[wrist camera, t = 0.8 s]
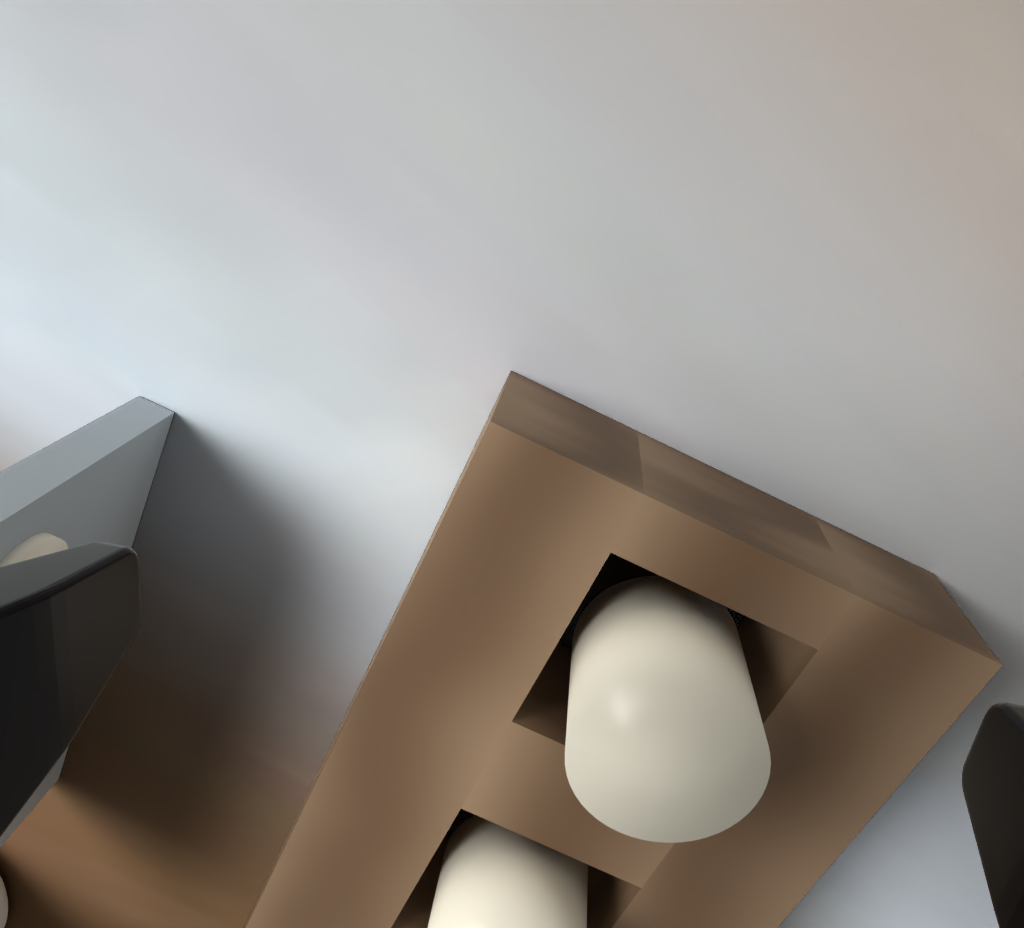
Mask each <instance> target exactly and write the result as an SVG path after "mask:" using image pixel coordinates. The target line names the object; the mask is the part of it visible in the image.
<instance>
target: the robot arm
mask: <svg viewBox="0 0 1024 928" xmlns="http://www.w3.org/2000/svg"><path fill="white" fill-rule="evenodd" d="M140 621H141V592H140V568H139V559H138V556H137V553H136V552H135V551H134V550H133V549H132V548H130V547H127V546H122V545H116V544H110V543H105V542H92V543H88V544H84V545H80V546H77V547H73V548H69V549H65V550H62V551H58V552H54V553H50V554H47V555H43V556H39V557H36V558H32V559H28V560H24V561H21V562H17V563H13V564H9V565H6V566H2V567H0V837H1V836H2V835H3V833H4V832H5V831H6V829H7V828H8V827H9V825H10V824H11V823H12V821H13V820H14V819H15V817H16V816H17V815H18V813H19V812H20V811H21V810H22V808H23V807H24V806H25V804H26V803H27V802H28V800H29V799H30V798H31V796H32V795H33V794H34V792H35V791H36V790H37V789H38V787H39V786H40V785H41V783H42V782H43V781H44V779H45V778H46V777H47V775H48V774H49V773H50V771H51V770H52V769H53V767H54V766H55V764H56V763H57V762H58V760H59V759H60V758H61V756H62V755H63V753H64V752H65V750H66V749H67V747H68V746H69V744H70V743H71V741H72V740H73V738H74V737H75V735H76V734H77V732H78V730H79V729H80V727H81V725H82V724H83V722H84V720H85V719H86V717H87V715H88V714H89V712H90V710H91V709H92V707H93V706H94V704H95V702H96V701H97V699H98V697H99V696H100V694H101V692H102V691H103V689H104V687H105V686H106V684H107V682H108V681H109V679H110V678H111V676H112V674H113V673H114V671H115V669H116V668H117V666H118V664H119V663H120V661H121V659H122V658H123V656H124V654H125V653H126V651H127V649H128V648H129V646H130V645H131V643H132V641H133V640H134V638H135V636H136V634H137V631H138V629H139V625H140ZM962 786H963V792H964V796H965V800H966V804H967V808H968V811H969V815H970V819H971V823H972V827H973V831H974V834H975V838H976V842H977V846H978V850H979V853H980V857H981V861H982V865H983V869H984V873H985V876H986V880H987V884H988V888H989V892H990V895H991V899H992V903H993V907H994V911H995V914H996V917H997V921H998V924H999V927H1000V928H1024V706H1020V705H1014V704H1008V703H998V704H995V705H993V706H992V707H991V708H990V709H989V710H988V711H987V713H986V715H985V717H984V719H983V721H982V724H981V726H980V728H979V731H978V733H977V735H976V738H975V740H974V742H973V745H972V747H971V750H970V752H969V754H968V757H967V759H966V761H965V764H964V767H963V773H962Z"/></svg>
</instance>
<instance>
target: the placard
mask: <svg viewBox="0 0 1024 928" xmlns="http://www.w3.org/2000/svg"><path fill="white" fill-rule="evenodd" d="M173 415H174V412H172V411H170V410H168V409H166V408H164V407H162V406H159V405H157V404H155V403H153V402H151V401H149V400H147V399H144V398H142V397H140V396H138V397H136V398H134V399H133V400H131V401H129V402H127V403H125V404H123V405H122V406H120V407H118V408H116V409H114V410H112V411H111V412H109V413H107V414H105V415H103V416H102V417H100V418H98V419H96V420H94V421H92V422H91V423H89V424H87V425H85V426H83V427H81V428H80V429H78V430H76V431H74V432H72V433H71V434H69V435H67V436H65V437H63V438H61V439H60V440H58V441H56V442H54V443H52V444H50V445H49V446H47V447H45V448H43V449H41V450H40V451H38V452H36V453H34V454H32V455H30V456H29V457H27V458H25V459H23V460H21V461H19V462H18V463H16V464H14V465H12V466H10V467H9V468H7V469H5V470H3V471H1V472H0V567H2V566H6V565H9V564H13V563H17V562H21V561H24V560H28V559H32V558H36V557H39V556H43V555H47V554H50V553H54V552H58V551H62V550H65V549H69V548H73V547H77V546H80V545H84V544H88V543H92V542H105V543H110V544H116V545H122V546H127V547H130V548H132V545H133V542H134V538H135V535H136V532H137V529H138V526H139V523H140V519H141V516H142V513H143V510H144V507H145V504H146V500H147V497H148V494H149V491H150V488H151V485H152V481H153V478H154V475H155V472H156V469H157V466H158V462H159V459H160V456H161V453H162V450H163V447H164V443H165V440H166V437H167V434H168V431H169V428H170V424H171V421H172V418H173ZM68 747H69V746H68ZM68 747H67V749H66V750H65V752H64V753H63V755H62V756H61V758H60V759H59V760H58V762H57V763H56V764H55V766H54V767H53V769H52V770H51V771H50V773H49V774H48V775H47V777H46V778H45V779H44V781H43V782H42V783H41V785H40V786H39V787H38V789H37V790H36V791H35V792H34V794H33V795H32V796H31V798H30V799H29V800H28V802H27V803H26V804H25V806H24V807H23V808H22V810H21V811H20V812H19V813H18V815H17V816H16V817H15V819H14V820H13V821H12V823H11V824H10V825H9V827H8V828H7V829H6V831H5V832H4V833H3V835H2V836H1V837H0V847H1V846H2V845H3V844H4V842H5V841H6V840H7V839H8V838H9V836H10V835H11V834H12V833H13V832H14V831H15V829H16V828H17V827H18V826H19V825H20V824H21V822H22V821H23V820H24V819H25V818H26V817H27V815H28V814H29V813H30V812H31V811H32V810H33V808H34V807H35V806H36V805H37V804H38V803H39V801H40V800H41V799H42V798H43V797H44V796H45V794H46V793H47V792H48V791H49V790H50V789H51V787H52V786H53V785H54V784H55V783H56V782H57V780H58V779H59V776H60V772H61V769H62V766H63V763H64V760H65V757H66V753H67V750H68Z"/></svg>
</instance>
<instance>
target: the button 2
mask: <svg viewBox="0 0 1024 928" xmlns="http://www.w3.org/2000/svg"><path fill="white" fill-rule="evenodd" d="M770 768H771V758H770V750H769V746H768V742H767V738H766V734H765V731H764V727H763V723H762V719H761V716H760V712H759V708H758V705H757V701H756V697H755V693H754V690H753V686H752V682H751V679H750V675H749V671H748V667H747V664H746V660H745V656H744V652H743V649H742V645H741V641H740V638H739V634H738V630H737V627H736V625H735V622H734V620H733V618H732V617H731V615H730V613H729V612H728V610H727V609H726V608H725V607H724V606H723V605H721V604H719V603H717V602H715V601H713V600H711V599H709V598H706V597H704V596H702V595H700V594H698V593H696V592H694V591H692V590H689V589H687V588H685V587H683V586H681V585H679V584H677V583H675V582H672V581H670V580H668V579H666V578H664V577H662V576H648V577H639V578H634V579H630V580H627V581H624V582H621V583H618V584H616V585H614V586H612V587H610V588H608V589H607V590H605V591H603V592H602V593H600V594H599V595H598V596H597V597H596V598H594V599H593V600H592V601H591V602H590V603H589V605H588V606H587V607H586V608H585V610H584V611H583V612H582V614H581V615H580V618H579V620H578V622H577V624H576V627H575V630H574V633H573V640H572V652H571V667H570V682H569V697H568V712H567V727H566V742H565V769H566V775H567V778H568V781H569V784H570V786H571V788H572V790H573V792H574V794H575V796H576V797H577V799H578V800H579V802H580V803H581V804H582V805H583V806H584V808H585V809H586V810H587V811H588V812H589V813H590V814H591V815H593V816H594V817H595V818H596V819H597V820H599V821H600V822H602V823H603V824H605V825H606V826H608V827H610V828H612V829H614V830H616V831H618V832H620V833H622V834H625V835H628V836H630V837H634V838H637V839H641V840H646V841H652V842H663V843H678V842H688V841H695V840H699V839H703V838H707V837H709V836H712V835H715V834H718V833H720V832H722V831H724V830H726V829H728V828H730V827H731V826H733V825H734V824H736V823H737V822H739V821H740V820H741V819H743V818H744V817H745V816H746V815H747V814H748V813H749V812H750V811H751V810H752V809H753V808H754V807H755V806H756V804H757V803H758V801H759V800H760V798H761V797H762V795H763V793H764V791H765V788H766V786H767V783H768V780H769V776H770Z"/></svg>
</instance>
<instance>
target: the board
mask: <svg viewBox="0 0 1024 928" xmlns="http://www.w3.org/2000/svg"><path fill="white" fill-rule="evenodd" d="M610 553H613V554H615V555H617V556H619V557H621V558H623V559H626V560H628V561H630V562H632V563H634V564H636V565H638V566H640V567H643V568H645V569H647V570H649V571H651V572H653V573H655V574H657V575H660V576H662V577H664V578H666V579H668V580H670V581H672V582H675V583H677V584H679V585H681V586H683V587H685V588H687V589H689V590H692V591H694V592H696V593H698V594H700V595H702V596H704V597H706V598H709V599H711V600H713V601H715V602H717V603H719V604H721V605H723V606H726V607H728V608H730V609H732V610H734V611H736V612H738V613H741V614H743V615H745V617H744V619H743V620H742V622H741V623H740V625H739V626H738V627H737V630H738V634H739V638H740V641H741V645H742V649H743V652H744V656H745V660H746V664H747V667H748V671H749V675H750V679H751V682H752V686H753V690H754V693H755V697H756V701H757V705H758V708H759V712H760V716H761V719H762V723H763V727H764V731H765V734H766V738H767V742H768V746H769V750H770V758H771V768H770V776H769V780H768V783H767V786H766V788H765V791H764V793H763V795H762V797H761V798H760V800H759V801H758V803H757V804H756V806H755V807H754V808H753V809H752V810H751V811H750V812H749V813H748V814H747V815H746V816H745V817H744V818H743V819H741V820H740V821H739V822H737V823H736V824H734V825H733V826H731V827H730V828H728V829H726V830H724V831H722V832H720V833H718V834H715V835H712V836H709V837H707V838H703V839H699V840H695V841H688V842H678V843H663V842H652V841H646V840H641V839H637V838H634V837H630V836H628V835H625V834H622V833H620V832H618V831H616V830H614V829H612V828H610V827H608V826H606V825H605V824H603V823H602V822H600V821H599V820H597V819H596V818H595V817H594V816H593V815H591V814H590V813H589V812H588V811H587V810H586V809H585V808H584V806H583V805H582V804H581V803H580V802H579V800H578V799H577V797H576V796H575V794H574V792H573V790H572V788H571V786H570V784H569V781H568V778H567V775H566V769H565V742H566V727H567V712H568V697H569V682H570V667H571V652H572V649H570V648H568V647H566V646H563V645H561V644H559V643H558V642H559V640H560V638H561V637H562V635H563V633H564V631H565V630H566V628H567V626H568V625H569V623H570V621H571V619H572V618H573V616H574V614H575V613H576V611H577V609H578V607H579V606H580V604H581V602H582V601H583V599H584V597H585V596H586V594H587V592H588V590H589V589H590V587H591V585H592V584H593V582H594V580H595V578H596V577H597V575H598V573H599V572H600V570H601V568H602V566H603V565H604V563H605V561H606V560H607V558H608V556H609V555H610ZM1001 667H1002V664H1001V662H1000V661H999V660H998V658H997V657H996V656H995V654H994V653H993V652H992V650H991V649H990V648H989V646H988V645H987V644H986V642H985V641H984V640H983V638H982V637H981V636H980V634H979V633H978V632H977V630H976V629H975V628H974V627H973V625H972V624H971V623H970V621H969V620H968V619H967V617H966V616H965V615H964V613H963V612H962V611H961V609H960V608H959V607H958V605H957V604H956V603H955V601H954V600H953V599H952V597H951V596H950V595H949V593H948V592H947V591H946V589H945V588H944V587H943V586H942V584H941V583H940V582H939V580H938V579H937V578H936V576H935V575H934V574H933V573H931V572H929V571H927V570H924V569H922V568H920V567H918V566H916V565H914V564H912V563H910V562H908V561H906V560H904V559H902V558H899V557H897V556H895V555H893V554H891V553H889V552H887V551H885V550H883V549H881V548H879V547H877V546H875V545H872V544H870V543H868V542H866V541H864V540H862V539H860V538H858V537H856V536H854V535H852V534H850V533H848V532H845V531H843V530H841V529H839V528H837V527H835V526H833V525H831V524H829V523H827V522H825V521H823V520H821V519H818V518H816V517H814V516H812V515H810V514H808V513H806V512H804V511H802V510H800V509H798V508H796V507H793V506H791V505H789V504H787V503H785V502H783V501H781V500H779V499H777V498H775V497H773V496H771V495H769V494H766V493H764V492H762V491H760V490H758V489H756V488H754V487H752V486H750V485H748V484H746V483H744V482H742V481H739V480H737V479H735V478H733V477H731V476H729V475H727V474H725V473H723V472H721V471H719V470H717V469H715V468H712V467H710V466H708V465H706V464H704V463H702V462H700V461H698V460H696V459H694V458H692V457H690V456H687V455H685V454H683V453H681V452H679V451H677V450H675V449H673V448H671V447H669V446H667V445H665V444H663V443H660V442H658V441H656V440H654V439H652V438H650V437H648V436H646V435H644V434H642V433H640V432H638V431H636V430H633V429H631V428H629V427H627V426H625V425H623V424H621V423H619V422H617V421H615V420H613V419H611V418H608V417H606V416H604V415H602V414H600V413H598V412H596V411H594V410H592V409H590V408H588V407H586V406H584V405H581V404H579V403H577V402H575V401H573V400H571V399H569V398H567V397H565V396H563V395H561V394H559V393H557V392H554V391H552V390H550V389H548V388H546V387H544V386H542V385H540V384H538V383H536V382H534V381H532V380H530V379H527V378H525V377H523V376H521V375H519V374H517V373H515V372H513V371H511V372H510V374H509V376H508V378H507V380H506V382H505V384H504V386H503V388H502V390H501V392H500V395H499V397H498V399H497V401H496V403H495V405H494V407H493V409H492V411H491V413H490V415H489V417H488V420H487V422H486V424H485V426H484V428H483V430H482V432H481V434H480V436H479V438H478V440H477V442H476V445H475V447H474V449H473V451H472V453H471V455H470V457H469V459H468V461H467V463H466V465H465V467H464V469H463V472H462V474H461V476H460V478H459V480H458V482H457V484H456V486H455V488H454V490H453V492H452V494H451V497H450V499H449V501H448V503H447V505H446V507H445V509H444V511H443V513H442V515H441V517H440V519H439V522H438V524H437V526H436V528H435V530H434V532H433V534H432V536H431V538H430V540H429V542H428V544H427V546H426V549H425V551H424V553H423V555H422V557H421V559H420V561H419V563H418V565H417V567H416V569H415V571H414V574H413V576H412V578H411V580H410V582H409V584H408V586H407V588H406V590H405V592H404V594H403V596H402V599H401V601H400V603H399V605H398V607H397V609H396V611H395V613H394V615H393V617H392V619H391V621H390V623H389V626H388V628H387V630H386V632H385V634H384V636H383V638H382V640H381V642H380V644H379V646H378V648H377V651H376V653H375V655H374V657H373V659H372V661H371V663H370V665H369V667H368V669H367V671H366V673H365V676H364V678H363V680H362V682H361V684H360V686H359V688H358V690H357V692H356V694H355V696H354V698H353V701H352V703H351V705H350V707H349V709H348V711H347V713H346V715H345V717H344V719H343V721H342V723H341V725H340V728H339V730H338V732H337V734H336V736H335V738H334V740H333V742H332V744H331V746H330V748H329V750H328V753H327V755H326V757H325V759H324V761H323V763H322V765H321V767H320V769H319V771H318V773H317V775H316V778H315V780H314V782H313V784H312V786H311V788H310V790H309V792H308V794H307V796H306V798H305V800H304V802H303V805H302V807H301V809H300V811H299V813H298V815H297V817H296V819H295V821H294V823H293V825H292V827H291V830H290V832H289V834H288V836H287V838H286V840H285V842H284V844H283V846H282V848H281V850H280V852H279V855H278V857H277V859H276V861H275V863H274V865H273V867H272V869H271V871H270V873H269V875H268V877H267V879H266V882H265V884H264V886H263V888H262V890H261V892H260V894H259V896H258V898H257V900H256V902H255V904H254V907H253V909H252V911H251V913H250V915H249V917H248V919H247V921H246V923H245V925H244V927H243V928H428V923H429V919H430V914H431V910H432V906H433V901H434V897H435V892H436V888H437V883H438V879H439V875H440V870H441V866H442V861H443V857H444V852H445V848H446V845H447V842H448V840H449V838H450V835H447V834H446V833H447V831H448V830H449V828H450V826H451V824H452V823H453V821H454V819H455V818H456V816H457V814H458V813H459V811H460V809H463V810H466V811H468V812H470V813H472V814H475V815H477V816H479V817H481V818H484V819H486V820H488V821H490V822H493V823H495V824H497V825H500V826H502V827H504V828H506V829H509V830H511V831H513V832H515V833H518V834H520V835H522V836H524V837H527V838H529V839H531V840H533V841H536V842H538V843H540V844H543V845H545V846H547V847H549V848H552V849H554V850H556V851H558V852H561V853H563V854H565V855H567V856H570V857H572V858H574V859H576V860H579V861H581V862H583V863H586V864H588V895H587V928H777V927H778V926H779V925H780V924H781V923H782V922H783V920H784V919H785V918H786V917H787V916H788V915H789V913H790V912H791V911H792V910H793V909H794V908H795V906H796V905H797V904H798V903H799V902H800V901H801V899H802V898H803V897H804V896H805V895H806V894H807V892H808V891H809V890H810V889H811V888H812V887H813V885H814V884H815V883H816V882H817V881H818V880H819V879H820V877H821V876H822V875H823V874H824V873H825V872H826V870H827V869H828V868H829V867H830V866H831V865H832V863H833V862H834V861H835V860H836V859H837V858H838V856H839V855H840V854H841V853H842V852H843V851H844V849H845V848H846V847H847V846H848V845H849V844H850V842H851V841H852V840H853V839H854V838H855V837H856V835H857V834H858V833H859V832H860V831H861V830H862V828H863V827H864V826H865V825H866V824H867V823H868V821H869V820H870V819H871V818H872V817H873V816H874V814H875V813H876V812H877V811H878V810H879V809H880V807H881V806H882V805H883V804H884V803H885V802H886V801H887V799H888V798H889V797H890V796H891V795H892V794H893V792H894V791H895V790H896V789H897V788H898V787H899V785H900V784H901V783H902V782H903V781H904V780H905V778H906V777H907V776H908V775H909V774H910V773H911V771H912V770H913V769H914V768H915V767H916V766H917V764H918V763H919V762H920V761H921V760H922V759H923V757H924V756H925V755H926V754H927V753H928V752H929V750H930V749H931V748H932V747H933V746H934V745H935V743H936V742H937V741H938V740H939V739H940V738H941V736H942V735H943V734H944V733H945V732H946V731H947V729H948V728H949V727H950V726H951V725H952V724H953V722H954V721H955V720H956V719H957V718H958V717H959V716H960V714H961V713H962V712H963V711H964V710H965V709H966V707H967V706H968V705H969V704H970V703H971V702H972V700H973V699H974V698H975V697H976V696H977V695H978V693H979V692H980V691H981V690H982V689H983V688H984V686H985V685H986V684H987V683H988V682H989V681H990V679H991V678H992V677H993V676H994V675H995V674H996V672H997V671H998V670H999V669H1000V668H1001Z"/></svg>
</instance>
